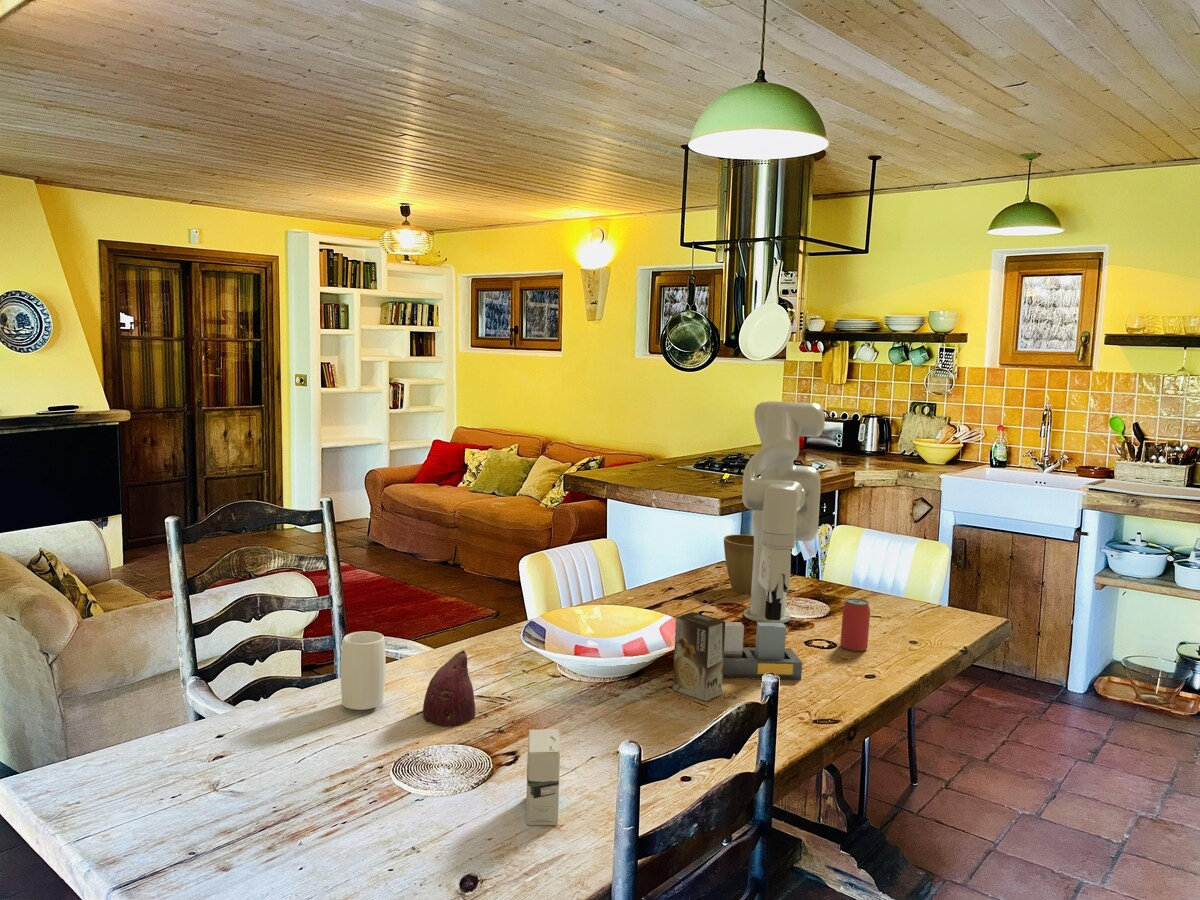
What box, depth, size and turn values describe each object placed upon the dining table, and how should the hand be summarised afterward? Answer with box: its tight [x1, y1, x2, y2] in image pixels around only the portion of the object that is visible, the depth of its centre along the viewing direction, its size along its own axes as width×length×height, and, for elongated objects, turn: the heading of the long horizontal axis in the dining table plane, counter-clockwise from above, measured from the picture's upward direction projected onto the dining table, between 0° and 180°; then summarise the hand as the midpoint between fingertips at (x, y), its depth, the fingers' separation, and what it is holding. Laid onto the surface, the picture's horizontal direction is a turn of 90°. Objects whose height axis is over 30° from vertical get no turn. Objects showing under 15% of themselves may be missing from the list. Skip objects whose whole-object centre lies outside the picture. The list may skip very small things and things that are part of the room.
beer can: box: [839, 597, 871, 652], centre depth 225 cm, size 7×7×12 cm
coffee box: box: [672, 611, 726, 702], centre depth 191 cm, size 9×6×16 cm
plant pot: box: [723, 534, 754, 594], centre depth 274 cm, size 15×15×16 cm
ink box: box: [526, 728, 561, 826], centre depth 139 cm, size 8×5×12 cm, turn 5°
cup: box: [340, 630, 387, 711], centre depth 176 cm, size 8×8×14 cm
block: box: [754, 622, 787, 659], centre depth 206 cm, size 3×6×10 cm, turn 93°
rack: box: [722, 621, 803, 681], centre depth 205 cm, size 10×22×11 cm, turn 94°
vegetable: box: [422, 649, 476, 728], centre depth 174 cm, size 10×10×15 cm
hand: (772, 618), depth 204 cm, fingers closed
